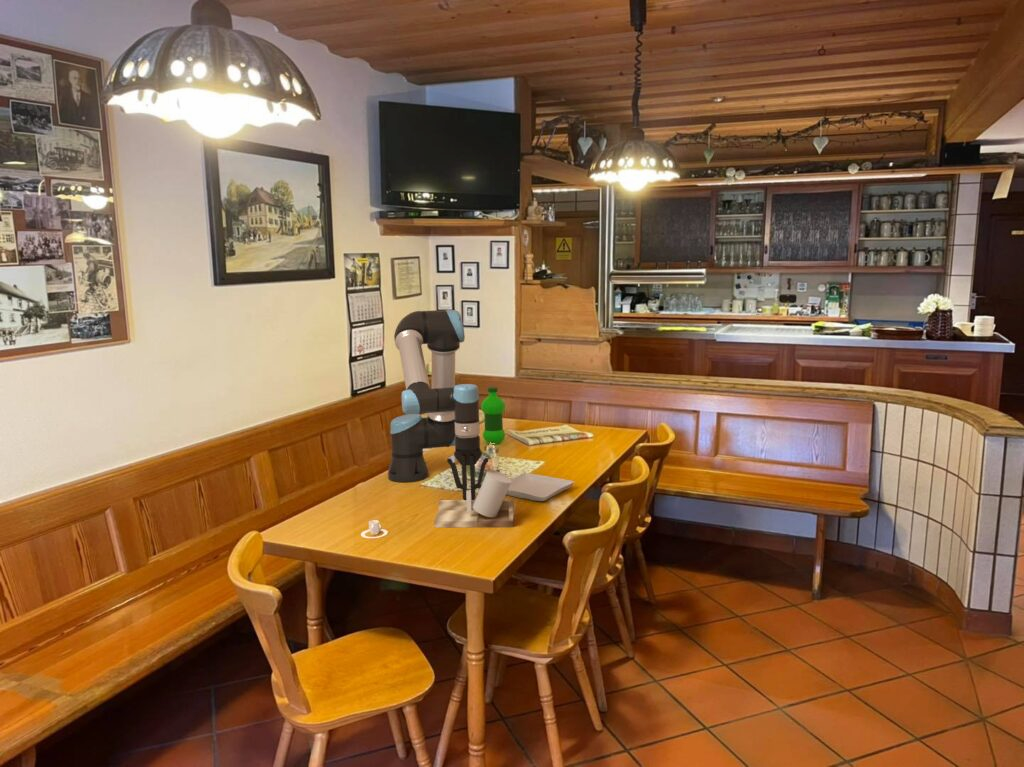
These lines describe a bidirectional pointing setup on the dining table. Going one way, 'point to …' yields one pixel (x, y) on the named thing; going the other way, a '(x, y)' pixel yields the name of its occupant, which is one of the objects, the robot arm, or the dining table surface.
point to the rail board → (472, 515)
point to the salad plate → (537, 486)
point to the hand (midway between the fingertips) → (469, 510)
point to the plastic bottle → (493, 417)
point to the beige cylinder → (491, 493)
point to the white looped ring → (374, 529)
